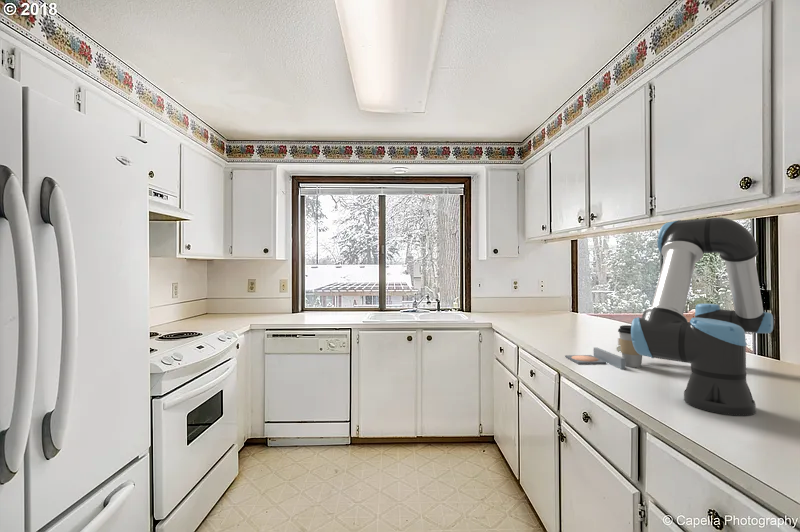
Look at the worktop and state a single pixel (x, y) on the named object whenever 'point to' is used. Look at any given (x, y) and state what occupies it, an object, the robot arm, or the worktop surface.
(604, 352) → the blue-grey rectangular bar
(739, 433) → the worktop surface
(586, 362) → the mat
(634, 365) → the coffee cup
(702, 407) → the robot arm
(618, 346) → the toy dinosaur
